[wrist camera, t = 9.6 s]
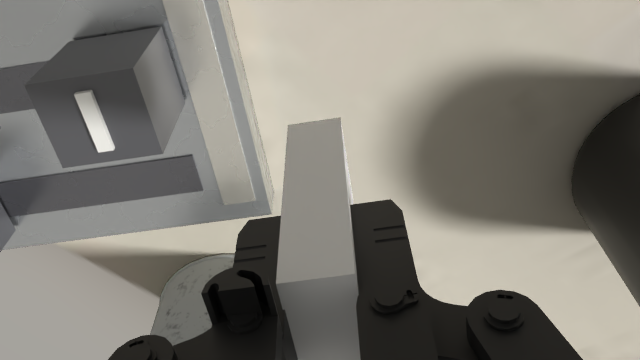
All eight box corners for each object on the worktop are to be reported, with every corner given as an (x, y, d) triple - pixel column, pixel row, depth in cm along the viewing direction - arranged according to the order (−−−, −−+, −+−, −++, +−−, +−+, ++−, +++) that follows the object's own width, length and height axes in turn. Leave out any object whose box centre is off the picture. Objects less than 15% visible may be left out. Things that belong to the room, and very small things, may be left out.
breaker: (69, 41, 25) (21, 87, 21) (161, 26, 24) (131, 70, 20) (99, 115, 26) (60, 171, 22) (185, 103, 26) (161, 156, 22)
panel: (-293, -86, 24) (-341, -76, 22) (184, -176, 22) (173, -174, 20) (-76, 239, 33) (-98, 264, 31) (274, 191, 31) (271, 215, 30)
